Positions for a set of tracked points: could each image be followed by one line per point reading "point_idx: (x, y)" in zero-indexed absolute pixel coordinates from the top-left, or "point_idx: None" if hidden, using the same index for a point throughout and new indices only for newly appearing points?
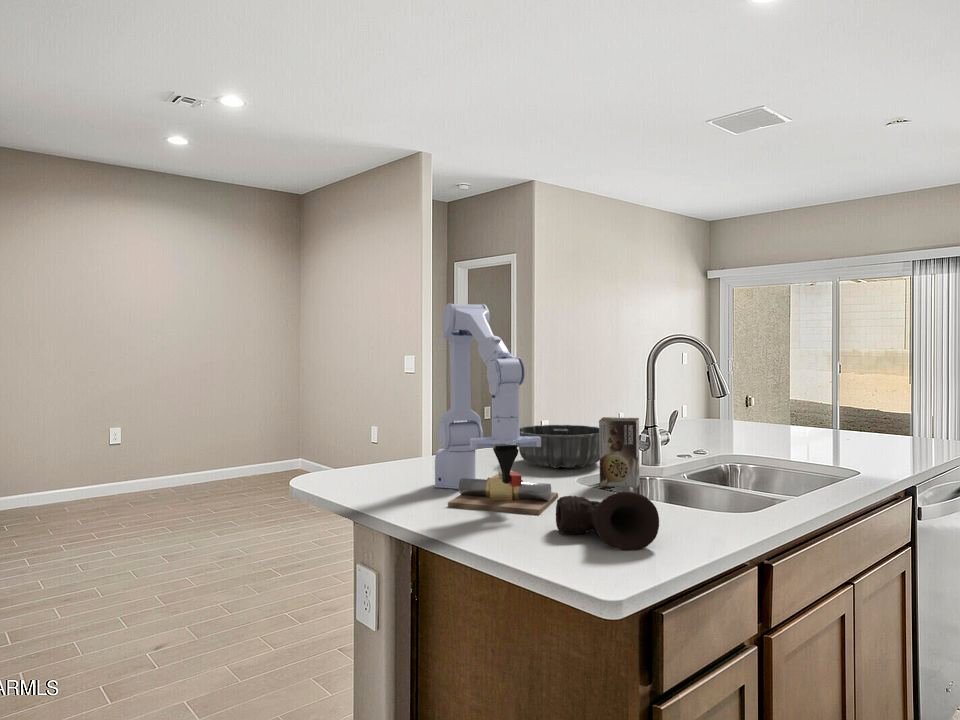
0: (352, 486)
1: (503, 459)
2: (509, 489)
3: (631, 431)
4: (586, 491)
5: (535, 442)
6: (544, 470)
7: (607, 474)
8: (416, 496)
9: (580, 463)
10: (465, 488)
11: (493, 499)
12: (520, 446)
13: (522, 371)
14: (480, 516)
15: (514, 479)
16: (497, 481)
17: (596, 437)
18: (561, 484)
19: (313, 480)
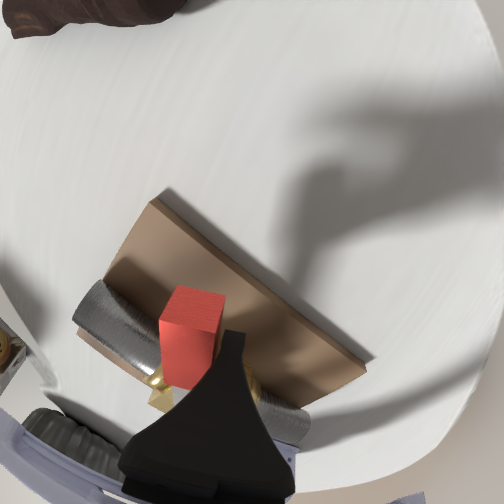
0: (390, 455)
1: (252, 435)
2: None
3: None
4: (38, 331)
5: (11, 443)
6: (101, 431)
7: (6, 347)
8: (360, 423)
9: (55, 414)
10: (298, 414)
11: (244, 360)
12: (100, 476)
13: None
14: (349, 257)
15: (203, 316)
16: None
17: (24, 427)
18: (76, 382)
19: (401, 465)
